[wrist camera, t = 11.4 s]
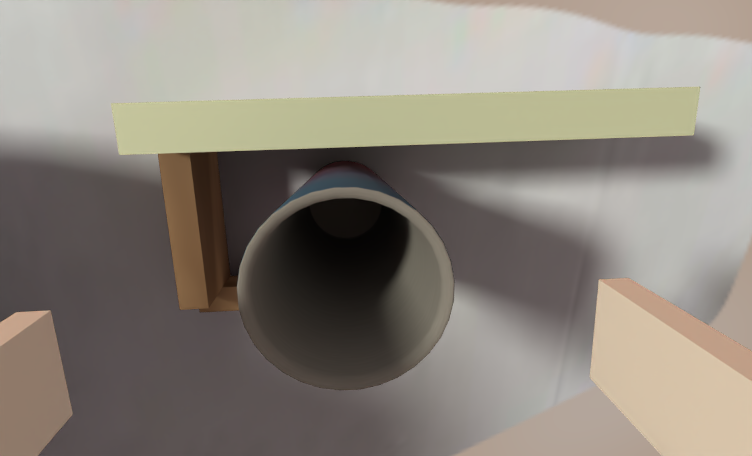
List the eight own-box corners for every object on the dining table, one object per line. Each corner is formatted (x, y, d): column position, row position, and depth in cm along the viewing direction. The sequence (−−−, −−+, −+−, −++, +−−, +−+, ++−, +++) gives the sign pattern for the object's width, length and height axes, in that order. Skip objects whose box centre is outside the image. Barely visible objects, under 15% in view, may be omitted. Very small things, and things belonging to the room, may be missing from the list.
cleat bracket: (208, 299, 30) (183, 335, 26) (189, 139, 28) (156, 146, 23) (412, 288, 31) (424, 322, 26) (410, 132, 29) (424, 137, 24)
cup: (414, 235, 30) (478, 354, 16) (311, 268, 30) (281, 416, 16) (382, 130, 29) (421, 157, 14) (273, 165, 29) (201, 227, 14)
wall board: (189, 139, 28) (119, 155, 19) (184, 104, 27) (110, 103, 19) (590, 126, 29) (693, 135, 21) (592, 92, 29) (700, 86, 20)
